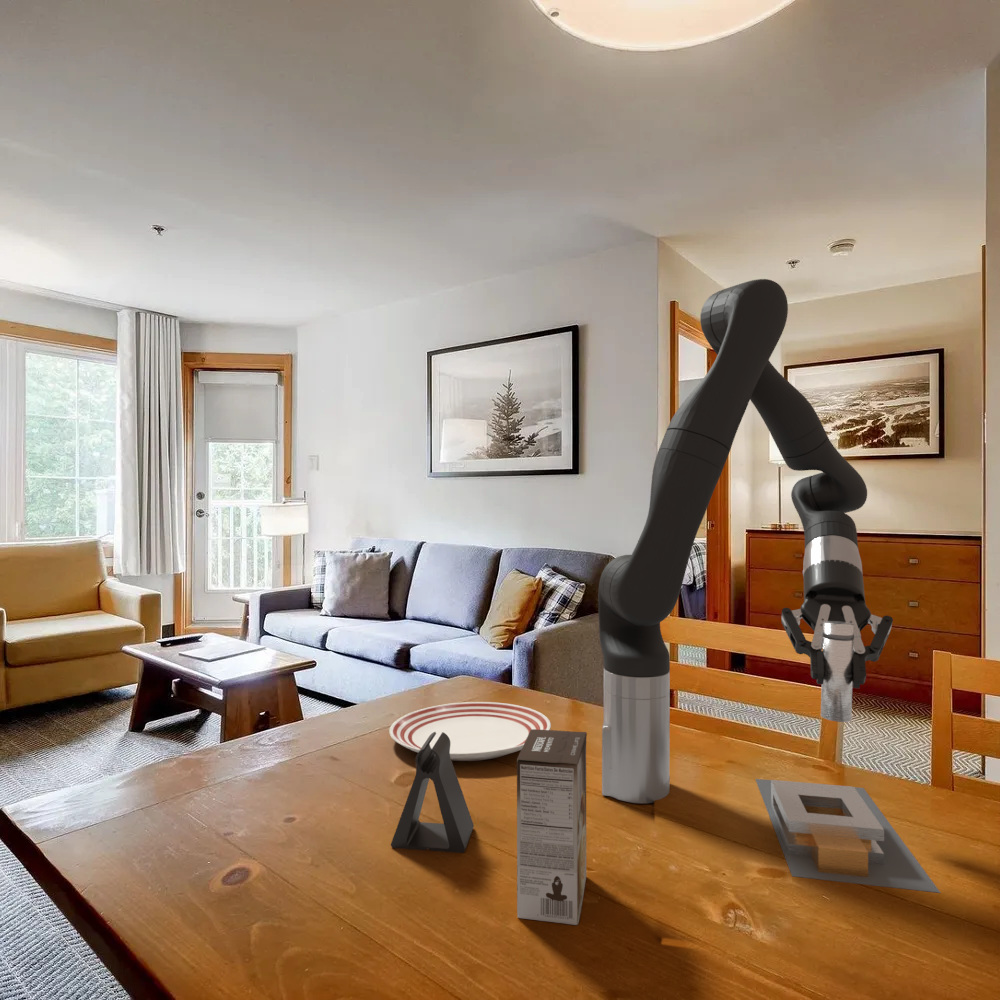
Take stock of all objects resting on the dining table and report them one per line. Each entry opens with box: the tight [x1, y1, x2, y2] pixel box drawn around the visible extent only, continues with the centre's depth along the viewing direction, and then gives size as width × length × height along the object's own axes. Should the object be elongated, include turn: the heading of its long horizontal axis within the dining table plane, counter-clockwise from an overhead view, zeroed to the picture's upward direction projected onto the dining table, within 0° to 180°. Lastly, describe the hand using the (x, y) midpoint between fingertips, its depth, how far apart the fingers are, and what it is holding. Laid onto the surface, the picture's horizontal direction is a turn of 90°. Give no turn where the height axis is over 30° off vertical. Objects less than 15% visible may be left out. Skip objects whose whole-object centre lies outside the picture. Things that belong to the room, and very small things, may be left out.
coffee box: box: [516, 729, 588, 926], centre depth 71 cm, size 9×6×16 cm
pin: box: [820, 621, 854, 723], centre depth 87 cm, size 4×4×12 cm
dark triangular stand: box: [390, 732, 475, 854], centre depth 83 cm, size 9×6×12 cm, turn 82°
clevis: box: [770, 779, 884, 877], centre depth 81 cm, size 10×14×4 cm
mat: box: [755, 778, 941, 894], centre depth 85 cm, size 14×26×1 cm, turn 168°
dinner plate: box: [388, 701, 552, 762], centre depth 116 cm, size 27×27×3 cm
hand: (838, 682), depth 85 cm, fingers closed on pin, 3 cm apart
